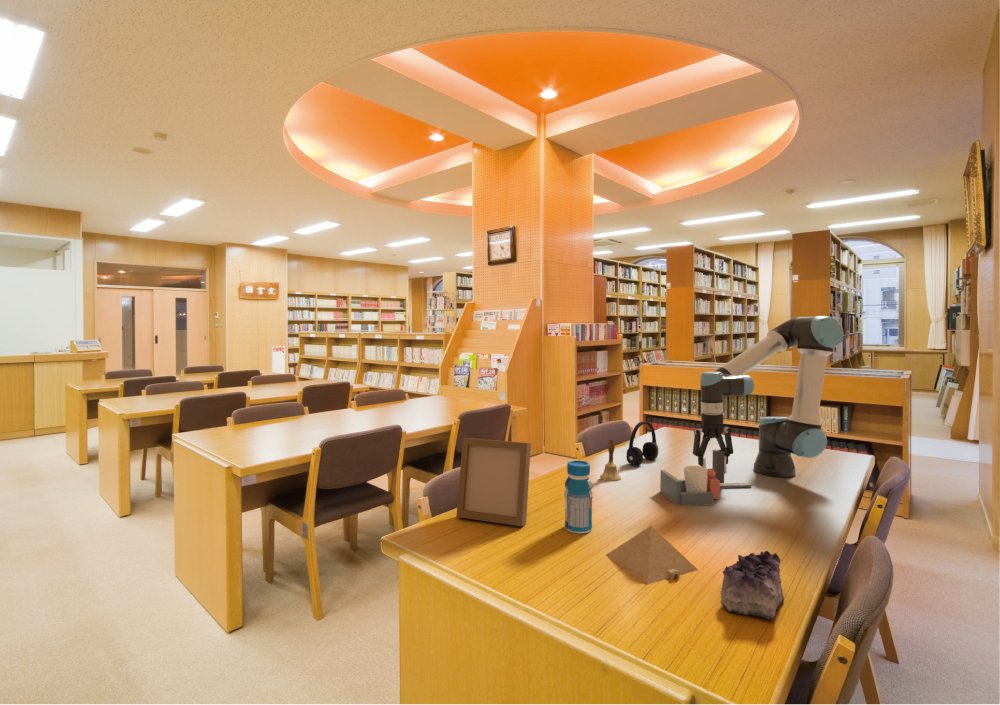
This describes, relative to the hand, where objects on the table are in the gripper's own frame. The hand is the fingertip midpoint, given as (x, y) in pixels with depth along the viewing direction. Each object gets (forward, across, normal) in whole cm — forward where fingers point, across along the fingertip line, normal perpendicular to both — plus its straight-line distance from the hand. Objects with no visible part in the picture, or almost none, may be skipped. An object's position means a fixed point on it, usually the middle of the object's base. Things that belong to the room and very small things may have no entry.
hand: (713, 473), depth 179 cm
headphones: (+5, -14, +36) cm, 39 cm away
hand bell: (+4, -35, +15) cm, 38 cm away
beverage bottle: (+3, -59, -32) cm, 68 cm away
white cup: (+5, -11, -9) cm, 16 cm away
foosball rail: (+5, -1, 0) cm, 6 cm away
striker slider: (+5, -3, -6) cm, 8 cm away
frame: (+5, -15, -10) cm, 18 cm away
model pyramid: (+4, -46, -54) cm, 71 cm away
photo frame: (+2, -83, -20) cm, 86 cm away
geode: (+4, -29, -72) cm, 78 cm away
